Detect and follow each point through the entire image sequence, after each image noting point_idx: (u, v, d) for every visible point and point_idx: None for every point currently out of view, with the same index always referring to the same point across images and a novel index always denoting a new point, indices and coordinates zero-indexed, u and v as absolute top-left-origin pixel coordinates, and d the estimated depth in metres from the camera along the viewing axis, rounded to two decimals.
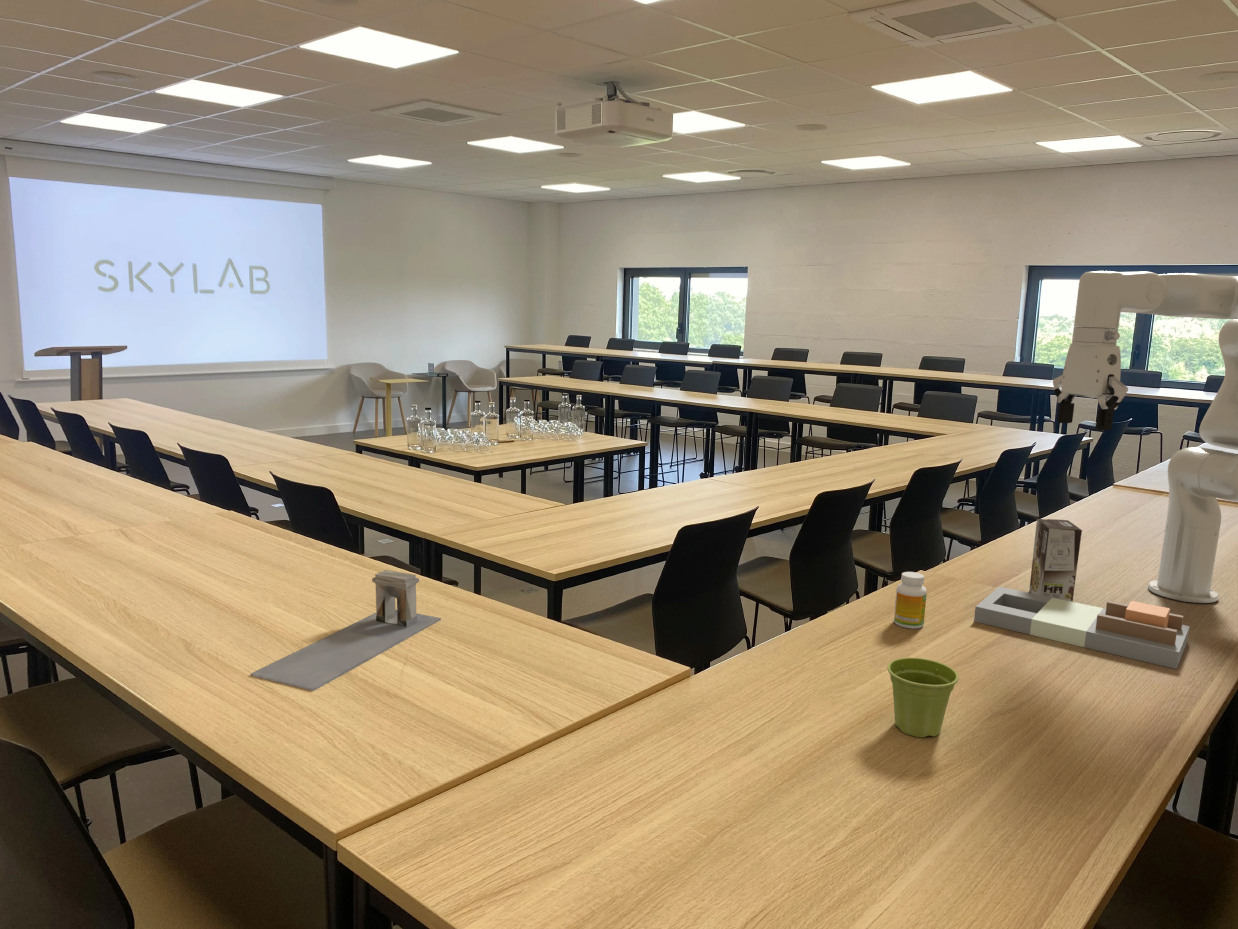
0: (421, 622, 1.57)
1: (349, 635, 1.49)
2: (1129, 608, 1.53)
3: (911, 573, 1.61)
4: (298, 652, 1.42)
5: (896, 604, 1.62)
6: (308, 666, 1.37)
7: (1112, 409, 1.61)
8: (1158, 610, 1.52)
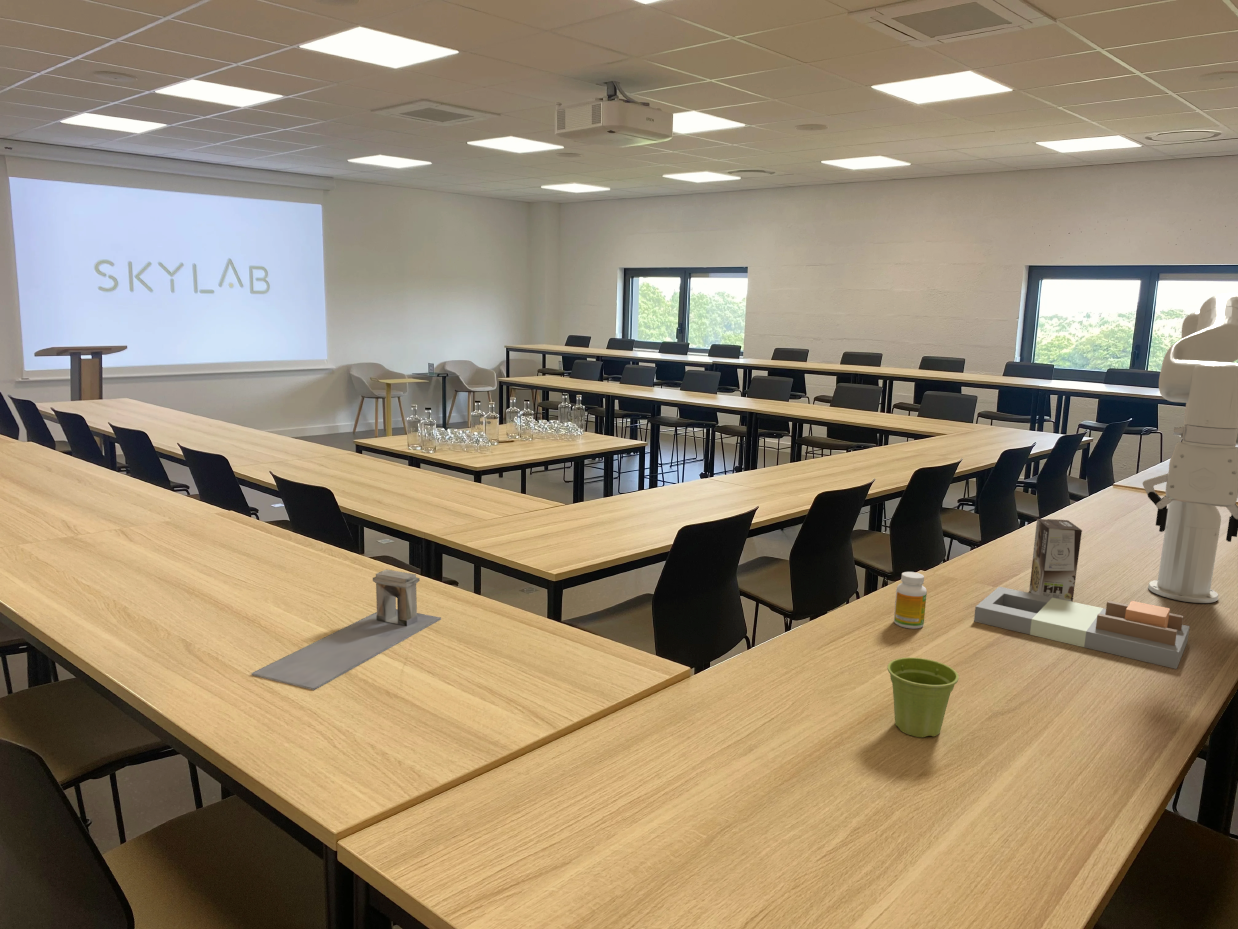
0: (422, 621, 1.57)
1: (350, 635, 1.50)
2: (1129, 608, 1.53)
3: (911, 573, 1.61)
4: (299, 651, 1.42)
5: (896, 604, 1.62)
6: (309, 665, 1.37)
7: (1157, 507, 1.51)
8: (1158, 610, 1.52)
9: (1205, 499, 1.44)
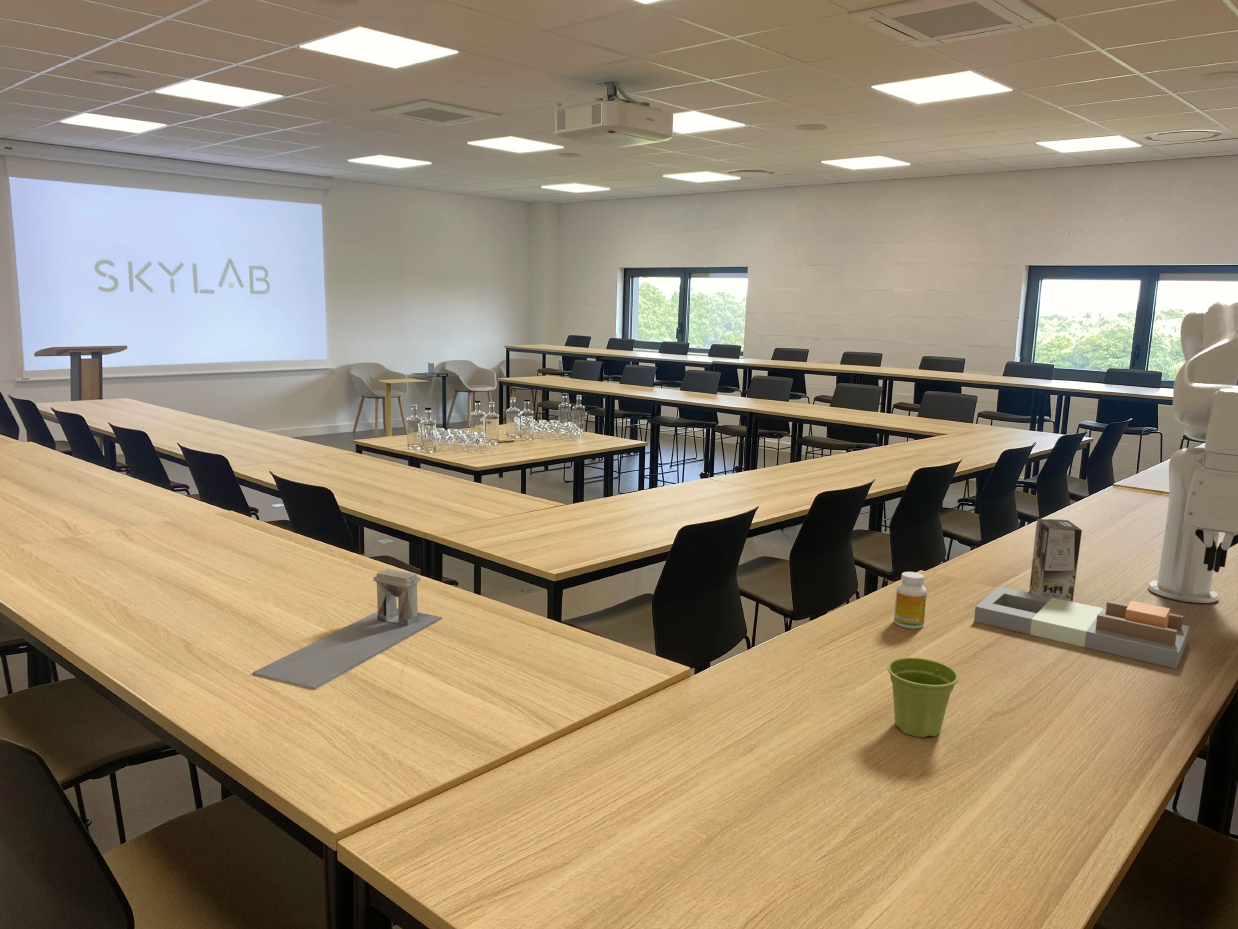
0: (422, 620, 1.57)
1: (351, 634, 1.50)
2: (1129, 608, 1.53)
3: (911, 573, 1.61)
4: (300, 651, 1.42)
5: (896, 604, 1.62)
6: (310, 665, 1.37)
7: (1205, 545, 1.46)
8: (1158, 610, 1.52)
9: (1224, 527, 1.42)
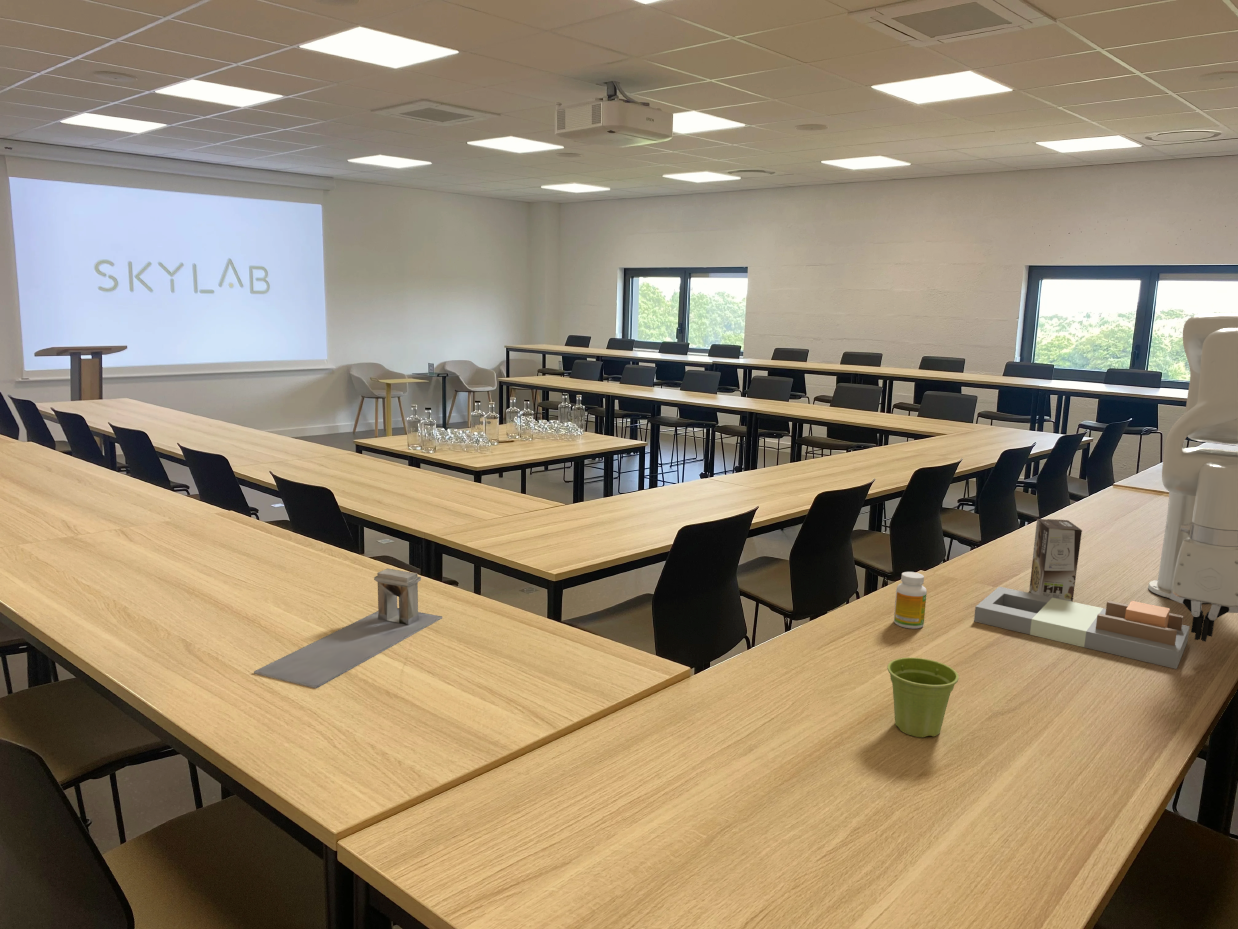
0: (423, 620, 1.57)
1: (351, 633, 1.50)
2: (1129, 608, 1.53)
3: (911, 573, 1.61)
4: (301, 650, 1.43)
5: (896, 604, 1.62)
6: (311, 664, 1.37)
7: None
8: (1158, 610, 1.52)
9: (1211, 599, 1.44)
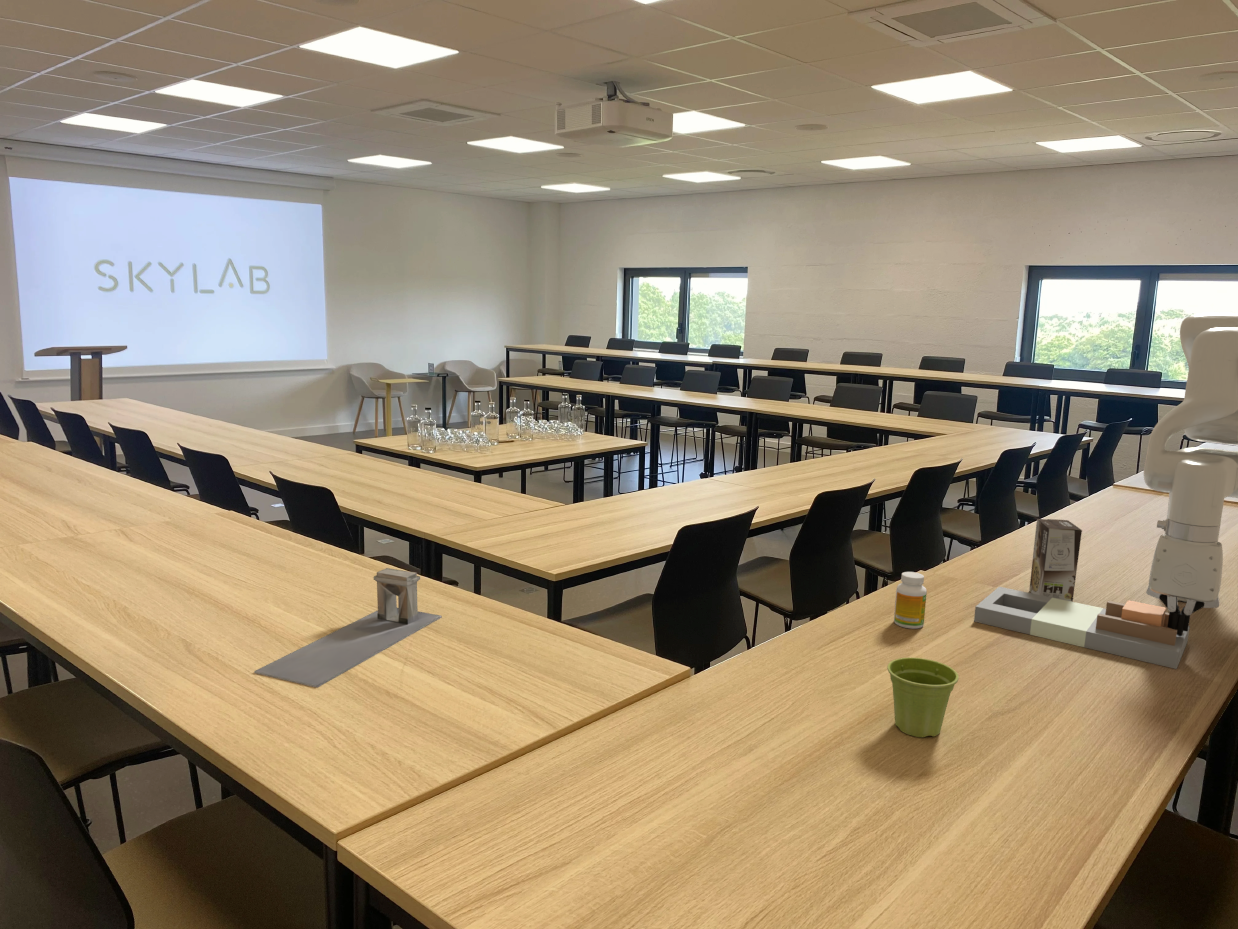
0: (422, 619, 1.58)
1: (351, 633, 1.51)
2: (1125, 608, 1.53)
3: (911, 573, 1.61)
4: (301, 650, 1.43)
5: (896, 604, 1.62)
6: (311, 663, 1.38)
7: None
8: (1154, 609, 1.53)
9: (1187, 594, 1.47)
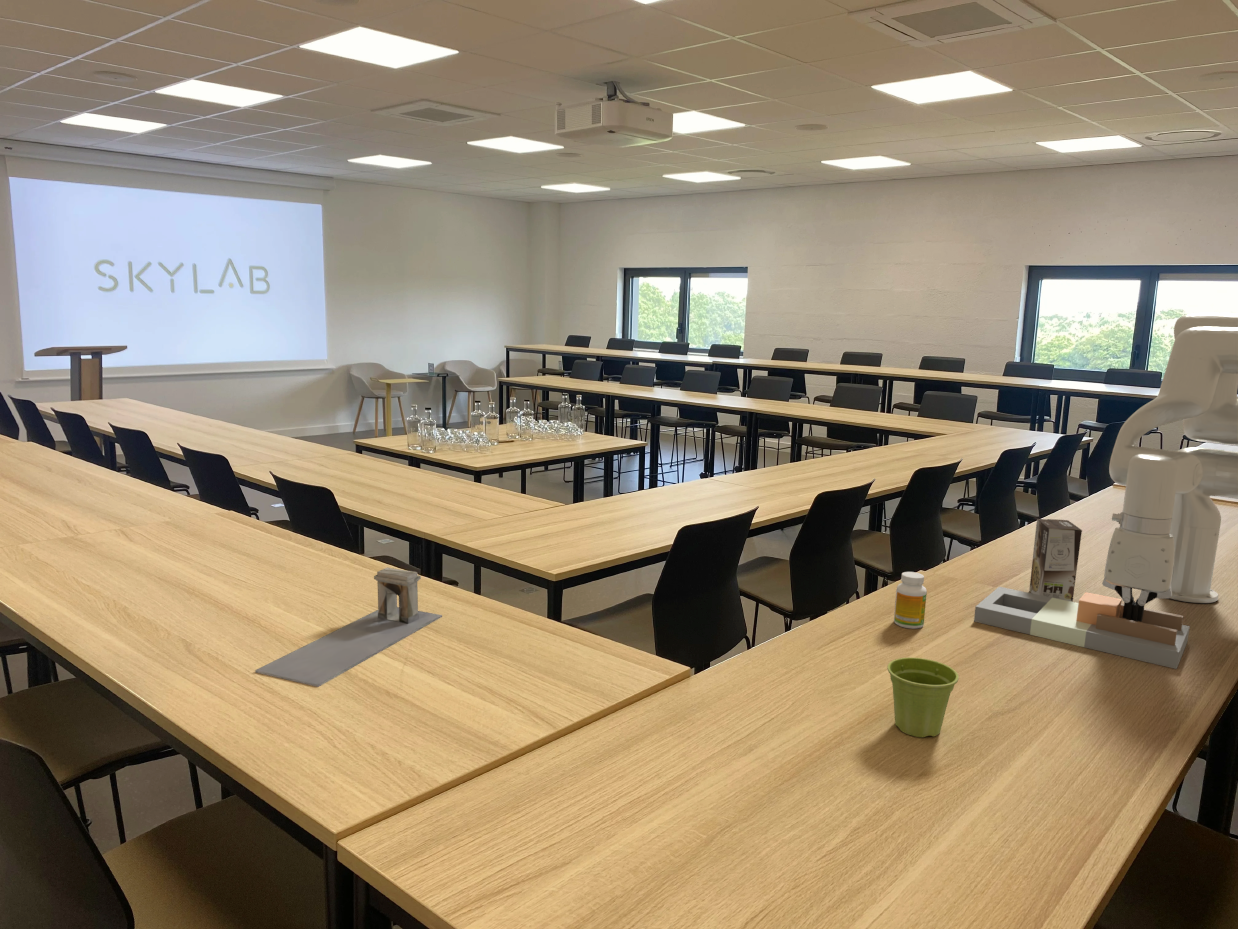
0: (423, 619, 1.58)
1: (352, 632, 1.51)
2: (1082, 599, 1.57)
3: (911, 573, 1.61)
4: (302, 649, 1.43)
5: (896, 604, 1.62)
6: (312, 662, 1.38)
7: None
8: (1110, 600, 1.57)
9: (1140, 585, 1.51)
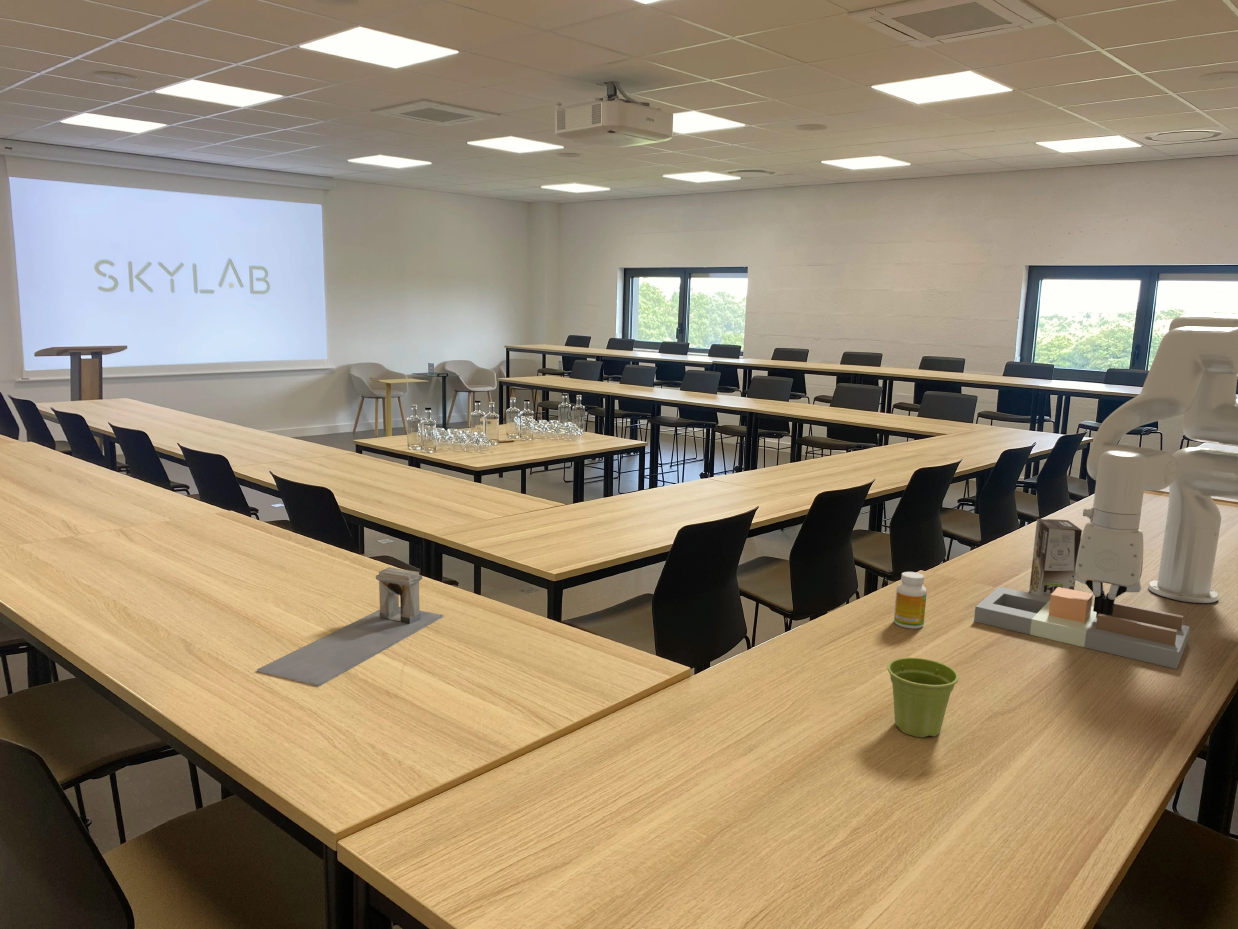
0: (424, 618, 1.58)
1: (353, 632, 1.51)
2: (1054, 594, 1.60)
3: (911, 573, 1.61)
4: (303, 648, 1.43)
5: (896, 604, 1.62)
6: (313, 662, 1.38)
7: None
8: (1081, 595, 1.60)
9: (1110, 579, 1.54)
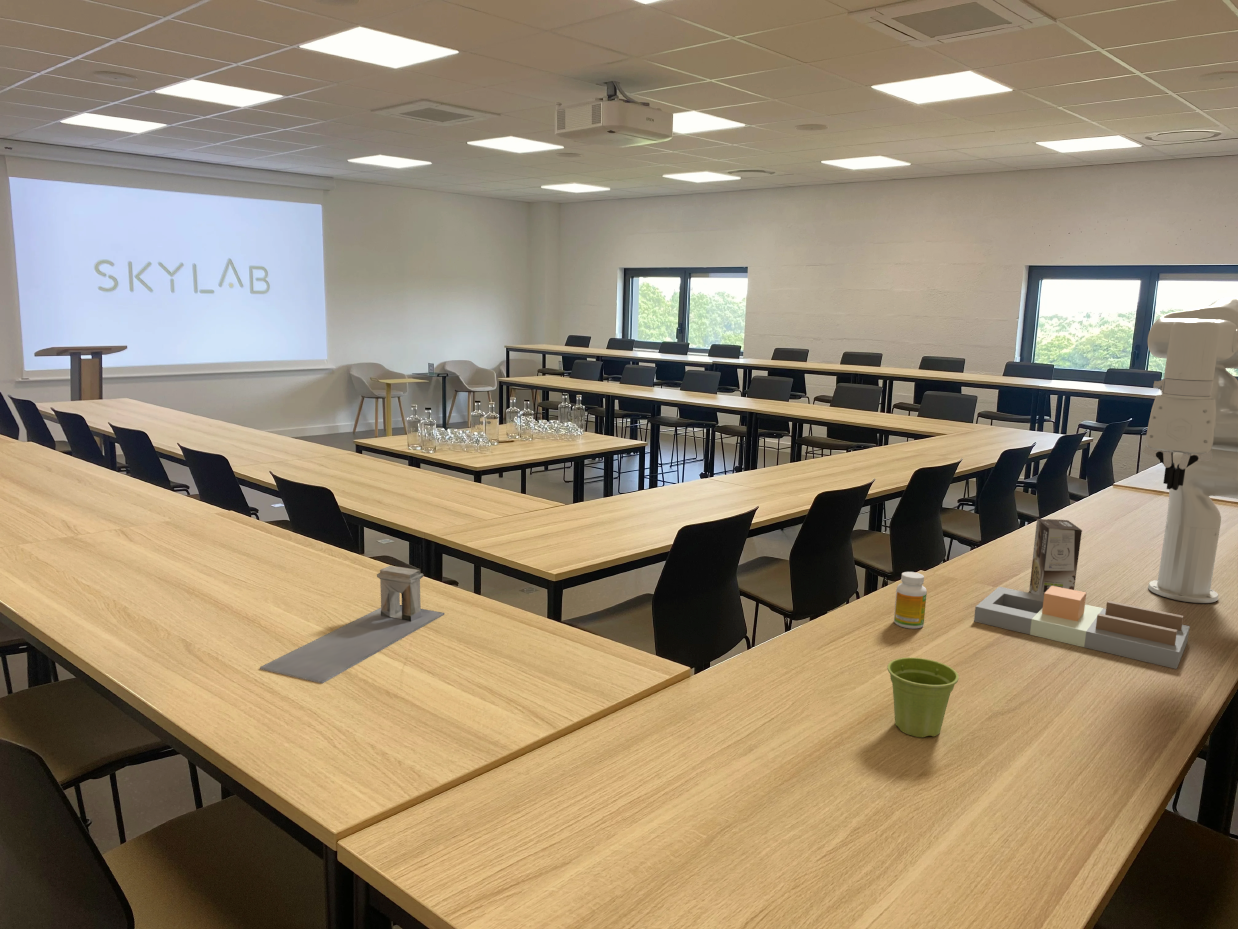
0: (425, 616, 1.59)
1: (355, 630, 1.52)
2: (1047, 592, 1.61)
3: (911, 573, 1.61)
4: (305, 646, 1.44)
5: (896, 604, 1.62)
6: (316, 659, 1.39)
7: None
8: (1074, 594, 1.60)
9: (1182, 447, 1.54)
